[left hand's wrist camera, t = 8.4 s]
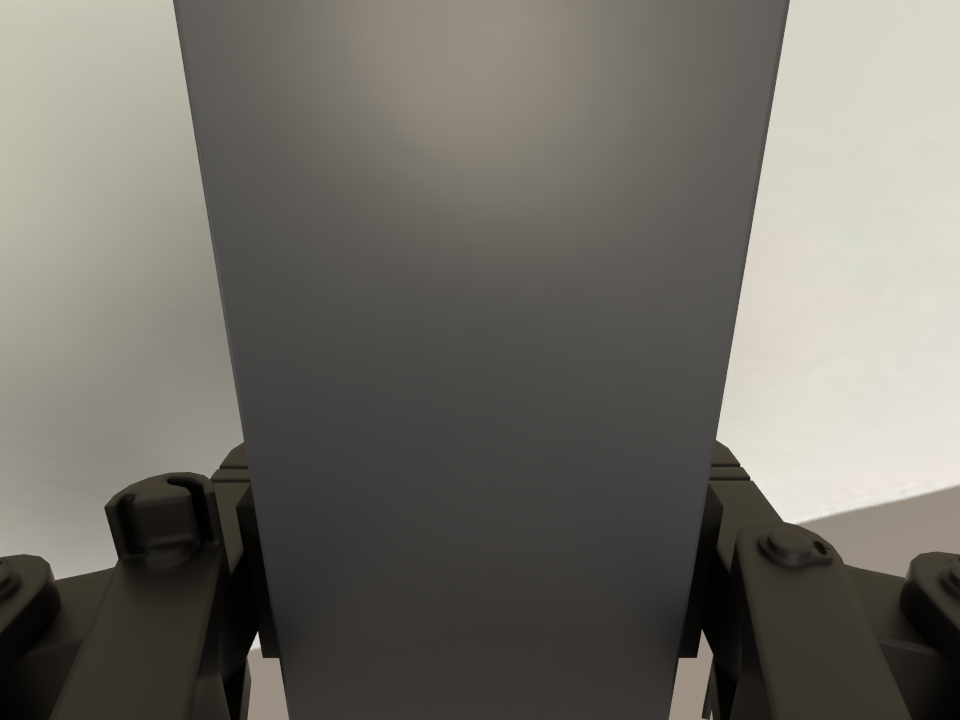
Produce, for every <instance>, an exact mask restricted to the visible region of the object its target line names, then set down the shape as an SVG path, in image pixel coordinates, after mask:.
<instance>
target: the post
mask: <svg viewBox="0 0 960 720" xmlns="http://www.w3.org/2000/svg"><path fill="white" fill-rule="evenodd" d="M789 2H790V0H173V3H174V9H175V15H176V21H177V28H178V34H179V40H180V46H181V52H182V59H183V65H184V71H185V77H186V83H187V90H188V96H189V102H190V108H191V114H192V121H193V127H194V133H195V139H196V145H197V152H198V158H199V164H200V170H201V176H202V183H203V189H204V195H205V201H206V207H207V213H208V220H209V226H210V232H211V238H212V244H213V251H214V257H215V263H216V269H217V275H218V282H219V288H220V294H221V300H222V306H223V313H224V319H225V325H226V331H227V337H228V344H229V350H230V356H231V362H232V368H233V375H234V381H235V387H236V393H237V399H238V406H239V412H240V418H241V424H242V430H243V437H244V443H245V449H246V455H247V461H248V467H249V474H250V480H251V486H252V492H253V498H254V505H255V511H256V517H257V523H258V529H259V536H260V542H261V548H262V554H263V560H264V567H265V573H266V579H267V585H268V591H269V598H270V604H271V610H272V616H273V622H274V629H275V635H276V641H277V647H278V653H279V660H280V666H281V671H282V678H283V684H284V691H285V697H286V703H287V709H288V715H289V720H668V719H669V713H670V707H671V701H672V695H673V690H674V684H675V678H676V672H677V666H678V660H679V654H680V648H681V642H682V636H683V630H684V624H685V619H686V613H687V607H688V601H689V595H690V589H691V583H692V577H693V571H694V565H695V559H696V553H697V547H698V541H699V536H700V530H701V524H702V518H703V512H704V506H705V500H706V494H707V488H708V482H709V476H710V470H711V464H712V458H713V453H714V447H715V441H716V435H717V429H718V423H719V417H720V411H721V405H722V399H723V393H724V387H725V381H726V375H727V370H728V364H729V358H730V352H731V346H732V340H733V334H734V328H735V322H736V316H737V310H738V304H739V298H740V292H741V287H742V281H743V275H744V269H745V263H746V257H747V251H748V245H749V239H750V233H751V227H752V221H753V215H754V209H755V204H756V198H757V192H758V186H759V180H760V174H761V168H762V162H763V156H764V150H765V144H766V138H767V132H768V126H769V120H770V115H771V109H772V103H773V97H774V91H775V85H776V79H777V73H778V67H779V61H780V55H781V49H782V43H783V37H784V32H785V26H786V20H787V14H788V8H789Z"/></svg>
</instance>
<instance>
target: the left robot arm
mask: <svg viewBox="0 0 960 720" xmlns="http://www.w3.org/2000/svg"><path fill="white" fill-rule="evenodd" d="M104 508H105V512H106V515H107V519H108V523H109V526H110V530H111V533H112V537H113V540H114V544H115V548H116V551H117V555H118V558H119V559H118V561H117V564H116V566H115V567H113V568H110V569H106V570H102V571H98V572H93V573H88V574H84V575H79V576H74V577H69V578H65V579H60V580H55V579H54V576H53V573H52V570H51V567H50V564H49V563H48V562H46V561H45V560H44V559H43V558H41V557H39V556H32V555H25V554H22V555H14V556H6V557H1V558H0V720H247V717H248V707H249V698H250V688H251V677H250V670H249V665H248V659H247V655H248V652H249V650H250V648H251V646H252V643H253V641H254V639H255V636H256V634H257V632H258V634H259V639H260V645H261V650H262V656H263V658H279V653H278V647H277V641H276V635H275V629H274V622H273V616H272V610H271V604H270V598H269V591H268V585H267V579H266V573H265V567H264V560H263V554H262V548H261V542H260V536H259V529H258V523H257V517H256V511H255V505H254V498H253V492H252V486H251V480H250V474H249V467H248V461H247V455H246V449H245V443H244V442H243V443H242V444H240V445H239V446H237V447H236V448H234V449H233V450H231V452H230V453H229V454H228V456H227V457H226V458H225V460H224V461H223V462H222V464H221V465H220V469H217V470H216V472H215V473H214V475H213V476H212V477H211V479H210V480H209V479H208V478H207V477H206V476H204V475H200V474H196V473H191V472H179V473H167V474H163V475H158V476H153V477H150V478H147V479H144V480H142V481H139V482H137V483H134V484H132V485H130V486H128V487H127V488H125V489H124V490H122V491H120V492H119V493H117V494H116V495H114V496H113V498H112V499H111V500H110V501H109V502H108V503H107V504H106V506H105V507H104ZM702 630H703V632H704V634H705V636H706V639H707V641H708V643H709V646H710V648H711V650H712V653H713V659H712V665H711V670H710V675H709V680H708V685H707V690H706V695H705V701H704V706H703V712H702V718H703V719H707V720H709V719H710V715H711V710H712V715H713V720H960V555H959V554H952V553H944V552H930V553H923V554H919V555H918V556H917V557H916V558H914V559H913V560H912V561H911V562H910V566H909V569H908V572H907V574H906V577H905V578H903V577H898V576H893V575H888V574H884V573H879V572H874V571H869V570H865V569H860V568H856V567H852V566H849V565H845V564H844V563H843V560H842V558H841V557H840V555H839V554H838V553H837V551H836V550H835V549H834V547H833V546H832V545H831V544H830V543H828V542H827V541H826V540H824V539H823V538H822V537H820V536H819V535H817V534H816V533H813V532H811V531H809V530H807V529H805V528H803V527H800V526H798V525H794V524H790V523H786V522H783V520H782V519H781V518H780V516H779V515H778V514H777V512H776V511H775V510H774V508H773V507H772V506H771V504H770V503H769V502H768V500H767V499H766V498H765V496H764V495H763V494H762V492H761V491H760V490H759V488H758V487H757V486H756V484H755V483H754V482H753V481H750V476H749V475H748V474H747V472H746V471H745V470H744V468H743V467H740V463H739V462H738V460H737V459H736V458H735V456H734V455H733V454H732V452H731V451H730V450H729V448H727V447H726V446H724V445H723V444H721V443H720V442H718V441H717V440H716V441H715V447H714V453H713V458H712V464H711V470H710V476H709V482H708V488H707V494H706V500H705V506H704V512H703V518H702V524H701V530H700V536H699V541H698V547H697V553H696V559H695V565H694V571H693V577H692V583H691V589H690V595H689V601H688V607H687V613H686V619H685V624H684V630H683V636H682V642H681V648H680V654H679V658H697V653H698V648H699V642H700V637H701V631H702Z"/></svg>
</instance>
